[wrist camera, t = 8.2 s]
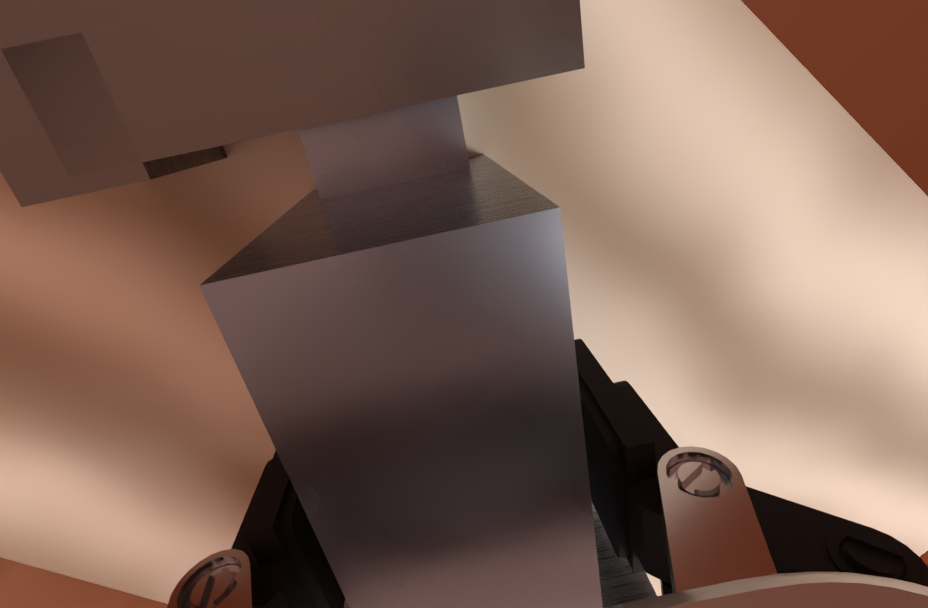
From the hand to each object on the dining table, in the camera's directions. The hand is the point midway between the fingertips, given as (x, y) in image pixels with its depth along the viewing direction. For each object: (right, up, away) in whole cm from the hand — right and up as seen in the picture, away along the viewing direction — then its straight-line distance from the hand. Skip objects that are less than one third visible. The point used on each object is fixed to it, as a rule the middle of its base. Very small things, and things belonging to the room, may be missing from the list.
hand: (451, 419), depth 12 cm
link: (0, +1, +1) cm, 1 cm away
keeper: (-3, +9, -1) cm, 10 cm away
